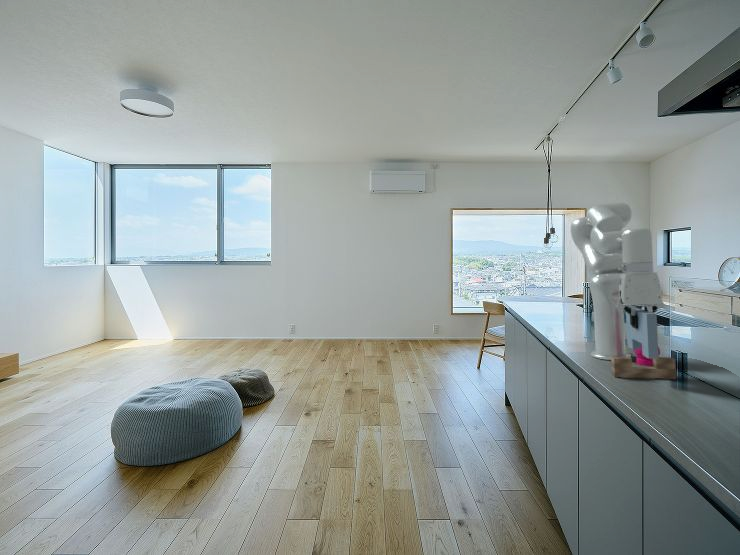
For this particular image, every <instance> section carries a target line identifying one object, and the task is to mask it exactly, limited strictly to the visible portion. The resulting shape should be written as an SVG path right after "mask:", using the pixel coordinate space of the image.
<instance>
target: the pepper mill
mask: <svg viewBox="0 0 740 555" xmlns="http://www.w3.org/2000/svg"><path fill="white" fill-rule="evenodd" d="M641 310H644V306H642V307H641ZM641 347H642V343H641ZM633 351H634V354H635V355H636V356H637V357H636V358H635V359H636V360H635V362H636V364H638V365H641V366H644V367H653V359H649V358H647V357H645V356H643V354H642V350H633ZM660 354H661V350H660V347H659V346H658V356H659V357H660Z"/></svg>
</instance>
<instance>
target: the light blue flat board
mask: <svg viewBox="0 0 740 555" xmlns="http://www.w3.org/2000/svg"><path fill="white" fill-rule="evenodd" d="M636 315H637V316H638V328H633V327H632V325H630V315H629V314H628V313H627V312H626V311H625V316H626V317H625V318H626V336H627V337H626V341H627V347H628V348H629V349H631V350H633V351H634V350H642V354H643V356H645V357H647V358H649V359H659V357H660V355H659V356H658V347H659V339H658V338H659V337H658V319H657V318H658V317H657V316H658V315H657V313H655V312H654V313H652V312H648V311H645V310H642V308H641V309H640V308H637V307H636ZM641 343H642V347H641Z"/></svg>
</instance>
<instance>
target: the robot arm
mask: <svg viewBox="0 0 740 555" xmlns="http://www.w3.org/2000/svg"><path fill="white" fill-rule="evenodd" d="M632 216H633V214H632V209H631V207H630V205H628V204H627V203H624V202H616V203H615V202H614V203H613V202H612V203H603V204H602V203H601V204H597V205H593V206H591V207H589V209H588V210H587V211H586V216H583V217H579V218H577V219H575V220H574V221H573V220H572V223H571V226H570V234H571V237H572V238H571V239H572V241H573V243H574V245H575V246H576V248H577V249H578V250H579V251H580V253H581V255H582V258H583V260H584V264H585V266H586V269H587V271H588V273H589V275H590V276H591V277H592V278H591V279H590V280H589V290H590V295H591V299H592V304H593V305H592V307H593V321H594V322H593V323H594V343H595V350H593V351H591V353H590V356H592V357H593V358H596V359H600V360H606V361H607V360H608V361H611V357H630V358H631V359H632V355H631V354H630V353H628V352H626V335H625V334H626V330H625V315H624V312H625V313H626V312H627V313H628V314H629V315H630V325H632V327H633V328H638V316H637V315H636V308H637V306H640V307H641V306H642V307H644V310H645V311H648V312H652V313H655V312H656V311H657V310H658V309H659V310H660V309H661V308H664V307H665V302H664V300H663V296H662V295H663V294H662V286H661V282H660V277H659V274H658V272H655V271H654V262H653V261H654V257H653V238H652V237H653V236H652V234H653V233H652V230H651V229H650V228H646V227H645V228H643V227H642V228H641V227H640V228H630V229H625V230H622V229H624V228H625V227H626V226H627V225H628V224H629V223H630V221H631V218H632ZM616 300H617V301H616Z"/></svg>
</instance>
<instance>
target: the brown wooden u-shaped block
mask: <svg viewBox="0 0 740 555" xmlns="http://www.w3.org/2000/svg"><path fill="white" fill-rule="evenodd" d="M610 362H611V375H612V377H613V378H616V377H621V378H623V379H626V378H627V379H655V378H661V379H662V378H663V379H662V380H665V379H666V380H670V379H671V380H677V373H676V369H677V367H676V359H675V358H673V357H670V356H669V357H668V356H667V357H666V356H665V357H663V356H662V357H661V356H659V359H653V366H642V365H641V366H638V365H636V366H634V365H633V363H632V362H633V360H632V357H631V358H630V357H611V360H610ZM661 379H660V380H661Z"/></svg>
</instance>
